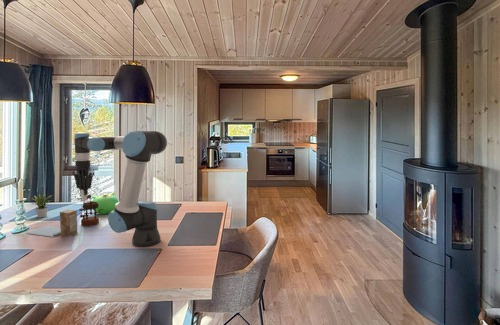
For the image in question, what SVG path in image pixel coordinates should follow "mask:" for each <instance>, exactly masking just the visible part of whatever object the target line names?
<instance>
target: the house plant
mask: <svg viewBox="0 0 500 325" xmlns="http://www.w3.org/2000/svg"><path fill="white" fill-rule="evenodd" d="M52 196H53V194H50V195H49V196H47V197H46V194H45V193H44V194H43V195H42V196H41V194H40V193H38V197H37V196H36V195H34V198H35V199H34V198H33V197H32V198H31V199H32V200H34V201H35V203H33V202H32V203H31V205H36V206H37V207H36V208H35V212H36V215H37V216H36V217H37V218H39V217H41V218H46V217H47V216H48V207H49V206H47V205H48V204H51V202H50V201H51V199H50V198H51V197H52ZM49 199H50V200H49Z"/></svg>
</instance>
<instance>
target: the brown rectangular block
mask: <svg viewBox="0 0 500 325" xmlns="http://www.w3.org/2000/svg"><path fill="white" fill-rule="evenodd" d="M77 215H78V214H77V210H76V209H64V210H61V211H60V212H59V221H60V222H59V223H60V226H59V227H61V235H60V236H63V237H71V236H74V235H76V234H78V218H77V217H78V216H77Z"/></svg>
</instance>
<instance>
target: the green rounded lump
mask: <svg viewBox="0 0 500 325" xmlns="http://www.w3.org/2000/svg"><path fill="white" fill-rule="evenodd" d="M115 194H116V192H115V191H114V192H111V193H109V194H100V195H99V196H96V195H91V199H93V200H92V202H97V203H98V204H99V206H98V208H96V212H99V213H98V214H99V215H100V214H101V215H106V214H107V215H108V214H109V213H110V212H111V211H114V210H115V205H116V204H117V203H118V202H120V200H119V199H118V197H116V196H115ZM100 209H104V210H100ZM93 211H94V209H93Z"/></svg>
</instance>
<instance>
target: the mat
mask: <svg viewBox="0 0 500 325" xmlns="http://www.w3.org/2000/svg"><path fill="white" fill-rule="evenodd" d="M27 234H28V235H34V236H41V237H48V238H49V237H50V238H55V237H56V238H57V237H59V236H62V235H61V227H60V226H52V225H46V226H42V227H38V228H37V229H34V230H31V231H28V232H26V235H27Z"/></svg>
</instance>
